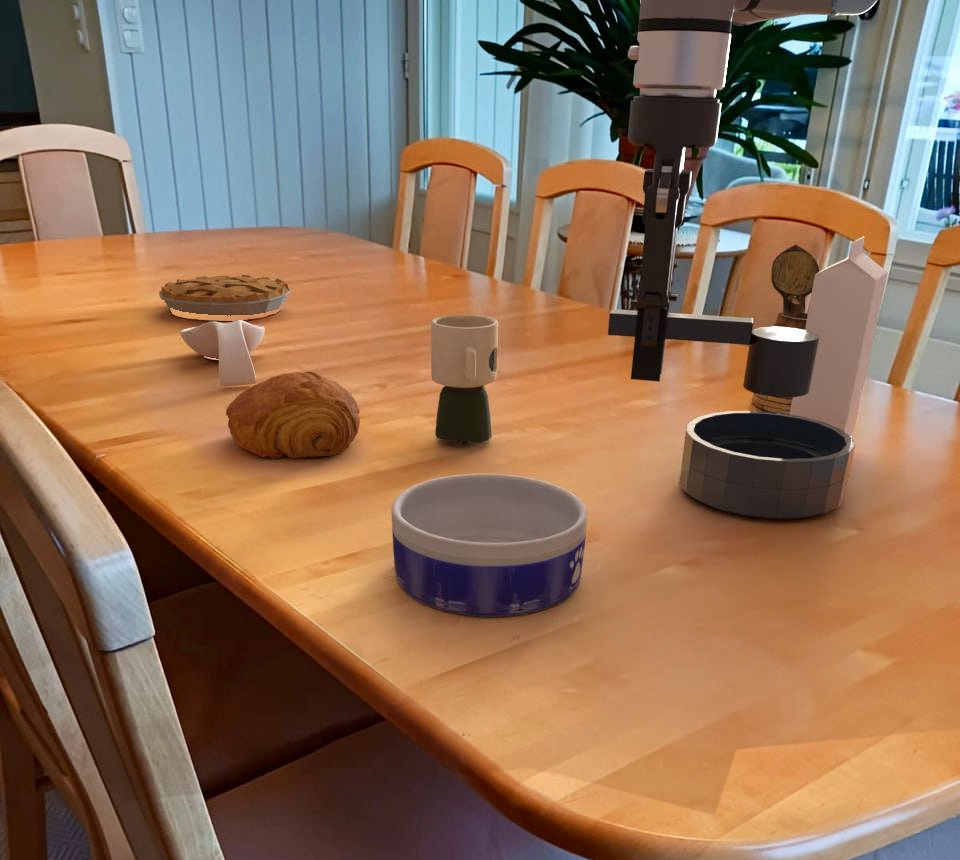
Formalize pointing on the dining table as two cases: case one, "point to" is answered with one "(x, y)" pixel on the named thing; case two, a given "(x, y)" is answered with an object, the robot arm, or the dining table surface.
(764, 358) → the ladle
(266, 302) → the pie
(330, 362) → the dining table surface
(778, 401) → the brown wooden tall piece
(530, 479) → the dog bowl
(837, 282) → the milk
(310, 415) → the croissant
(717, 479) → the serving bowl
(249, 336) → the spoon rest
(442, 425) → the character mug
